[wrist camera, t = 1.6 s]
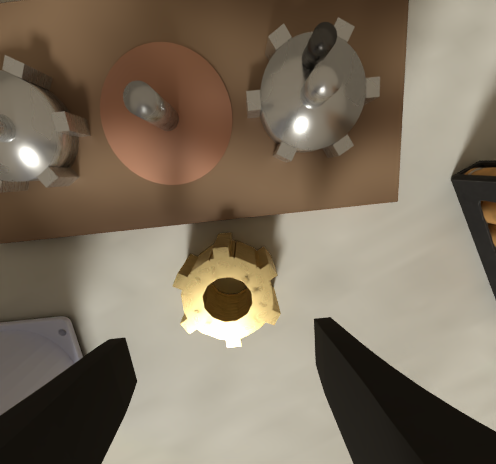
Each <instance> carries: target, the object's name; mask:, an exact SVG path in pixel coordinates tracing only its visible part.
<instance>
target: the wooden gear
mask: <svg viewBox="0 0 496 464" xmlns="http://www.w3.org/2000/svg"><path fill="white" fill-rule="evenodd" d="M276 276H277V272H276V269H275V266H274V263H273V260H272V257H271V255H270V253H269V252H268V251H267V249H266V248H265V247H264V246H263V247H262V248H260V249H259V250H256V249H254V247H251V246H249V245H246V244H244V243H242V242H239V241H236V240H233V241H232V234H231V232H228V233H219V234H218V236H217V239H216V241H215V243H214V244H213V245H212V246H210V247H209V248H207V249H206V250H205V251H203V252H202V253H200V255H199V257H197V256H195V255H192V254H190V255H189V257H188V258H187V260H186V261H185V263H184V265H183V266H182V268H181V269H180V271H179V272H178V274H177V276H176V279H175V281H174V284H173V287H176V288H178V289H181V290H182V292H181V293H182V294H181V297H182V302H183V308H184V316H183V318H182V320H181V323H180V324H181V325H182V326H183V328H184V329H185V330H186V331H187V332H188V333H189V334H190V333H192V332H193V331H195V330H196V329H198V330H199V331H201V332H202V333H204V334H207V335H210V336H213V337H215V338H218V339H221V338H222V340H224V339H226V343H227V348H228V347H238V346H241V338H244V336H245V337H246V336H248V335H249V334H251V333H252V332H254V331H255V330H257V329H259V328H260V327H262V326H263V325H264V323H265V322H267V323H270V324H272V325H275V323H276V321H277V319H278V317H279V316H280V314H281V313H280V309H279V305H278V302H277V298H276V294H275V290H274V287H272V285H271V281H270V280H271V279H273V278H274V277H276ZM228 277H232V278H235V279H237V280H240V281H242V282H244V283H245V285H246V286H247V288H245V289H244V290H242V291H241V292H239V293H237V294H226V293H223V292H220V291H218V290H217V289H216V287H215V286H214V285H213V284H212V282H214V281H215V280H216V279H218V278H228Z"/></svg>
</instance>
